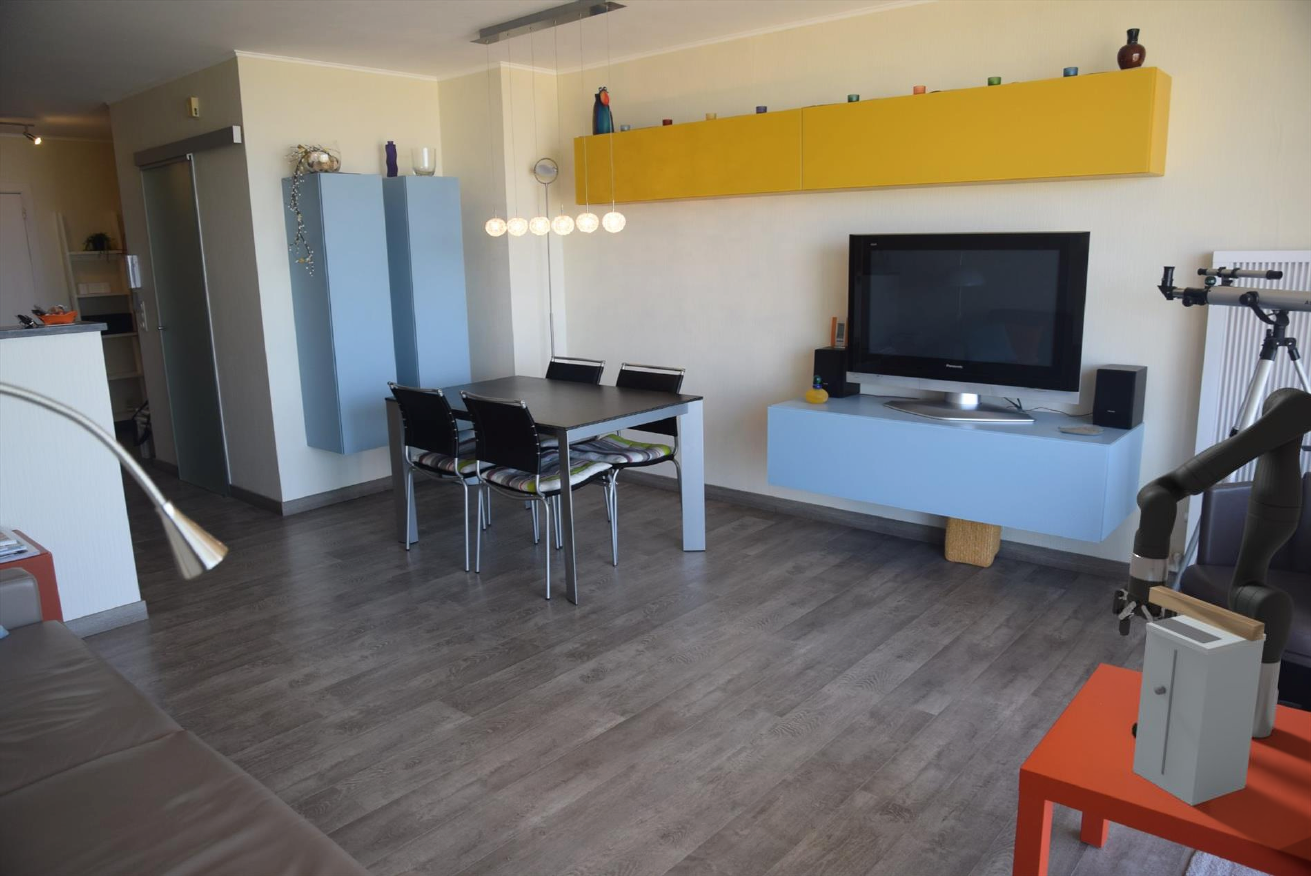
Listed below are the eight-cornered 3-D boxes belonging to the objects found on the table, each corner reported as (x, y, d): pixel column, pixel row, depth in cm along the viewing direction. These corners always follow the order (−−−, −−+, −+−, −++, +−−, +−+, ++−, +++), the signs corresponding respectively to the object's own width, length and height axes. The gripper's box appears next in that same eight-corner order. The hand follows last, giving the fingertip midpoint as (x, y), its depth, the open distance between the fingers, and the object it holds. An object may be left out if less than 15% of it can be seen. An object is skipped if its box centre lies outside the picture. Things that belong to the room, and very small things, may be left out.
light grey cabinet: (1186, 754, 191) (1202, 610, 184) (1246, 787, 179) (1266, 634, 173) (1128, 772, 185) (1143, 623, 178) (1187, 807, 173) (1205, 649, 166)
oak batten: (1158, 599, 191) (1160, 585, 190) (1262, 638, 171) (1264, 623, 170) (1148, 601, 190) (1150, 587, 189) (1252, 641, 170) (1253, 626, 169)
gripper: (1189, 581, 198) (1181, 651, 201) (1132, 561, 211) (1125, 627, 214) (1165, 586, 195) (1157, 657, 198) (1109, 566, 208) (1102, 633, 211)
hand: (1140, 642), depth 206 cm, fingers open, 8 cm apart
